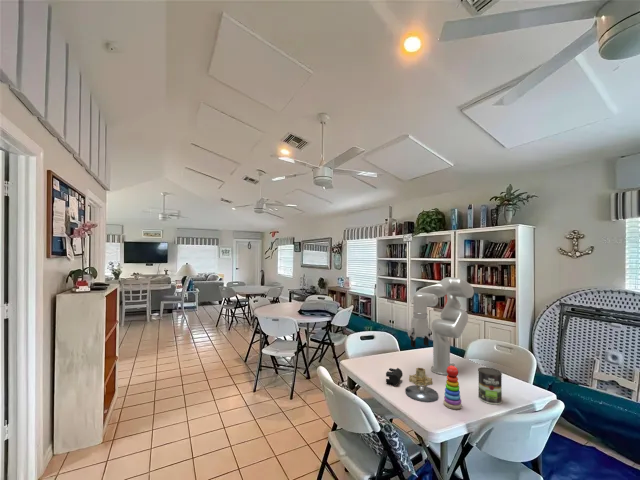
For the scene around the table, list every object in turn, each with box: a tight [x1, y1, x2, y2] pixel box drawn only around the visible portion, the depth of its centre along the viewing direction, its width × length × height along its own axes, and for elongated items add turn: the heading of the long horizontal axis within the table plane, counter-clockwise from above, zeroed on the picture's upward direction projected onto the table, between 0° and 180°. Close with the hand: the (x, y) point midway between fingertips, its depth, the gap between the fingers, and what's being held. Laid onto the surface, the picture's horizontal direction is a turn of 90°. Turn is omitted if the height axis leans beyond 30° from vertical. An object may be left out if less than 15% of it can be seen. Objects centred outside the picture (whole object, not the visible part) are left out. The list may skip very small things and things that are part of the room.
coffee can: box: [477, 366, 503, 406], centre depth 149 cm, size 10×10×14 cm
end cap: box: [385, 367, 404, 387], centre depth 166 cm, size 10×7×7 cm
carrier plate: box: [404, 384, 439, 403], centre depth 153 cm, size 16×16×4 cm
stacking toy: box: [443, 365, 463, 410], centre depth 142 cm, size 8×8×19 cm
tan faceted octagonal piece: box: [408, 367, 434, 387], centre depth 169 cm, size 12×12×6 cm
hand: (419, 346), depth 170 cm, fingers open, 9 cm apart
